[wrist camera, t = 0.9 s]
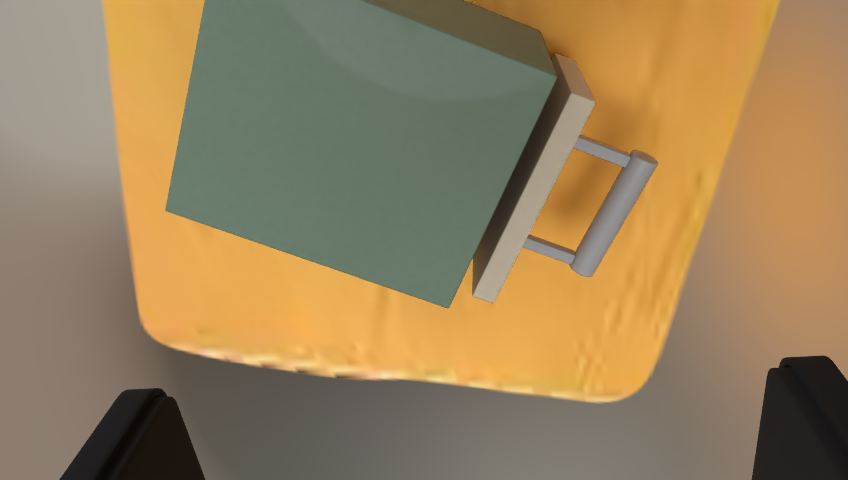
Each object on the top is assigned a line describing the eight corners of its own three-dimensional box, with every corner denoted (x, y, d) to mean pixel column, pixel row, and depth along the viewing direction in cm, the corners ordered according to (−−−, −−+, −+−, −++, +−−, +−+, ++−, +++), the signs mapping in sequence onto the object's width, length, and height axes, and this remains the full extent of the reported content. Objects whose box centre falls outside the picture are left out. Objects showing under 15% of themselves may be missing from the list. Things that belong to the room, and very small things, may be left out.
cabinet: (540, 30, 36) (558, 76, 28) (454, 225, 42) (448, 309, 34) (277, -74, 34) (215, -58, 26) (227, 143, 40) (164, 211, 32)
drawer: (659, 93, 36) (697, 141, 29) (565, 263, 41) (580, 334, 35) (332, -36, 34) (298, -15, 27) (278, 159, 39) (239, 215, 33)
